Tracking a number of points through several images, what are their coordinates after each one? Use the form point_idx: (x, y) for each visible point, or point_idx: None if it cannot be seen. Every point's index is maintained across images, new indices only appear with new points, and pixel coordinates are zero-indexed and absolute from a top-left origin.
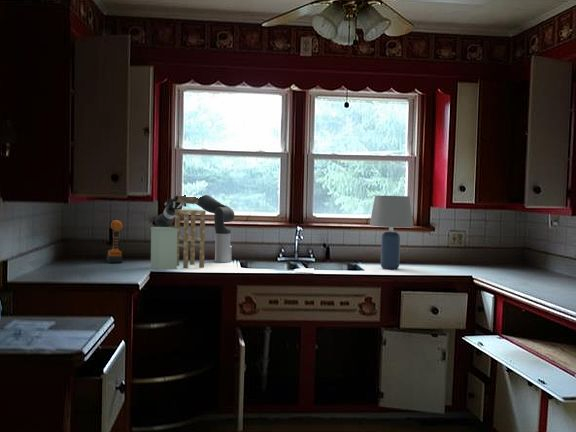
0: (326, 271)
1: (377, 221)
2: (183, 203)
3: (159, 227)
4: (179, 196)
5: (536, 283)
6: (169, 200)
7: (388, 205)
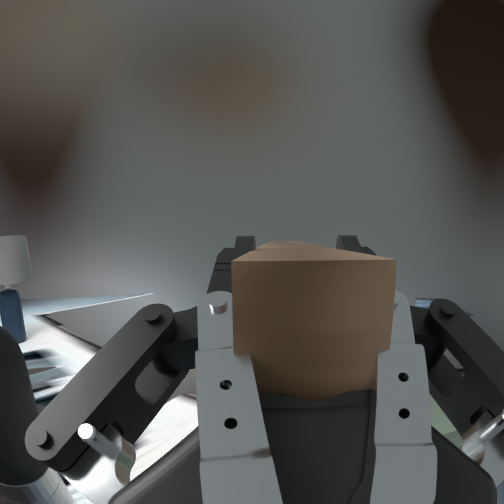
0: (80, 364)
1: (25, 274)
2: (118, 434)
3: (437, 416)
4: (314, 248)
5: (58, 302)
6: (463, 342)
7: (27, 249)
